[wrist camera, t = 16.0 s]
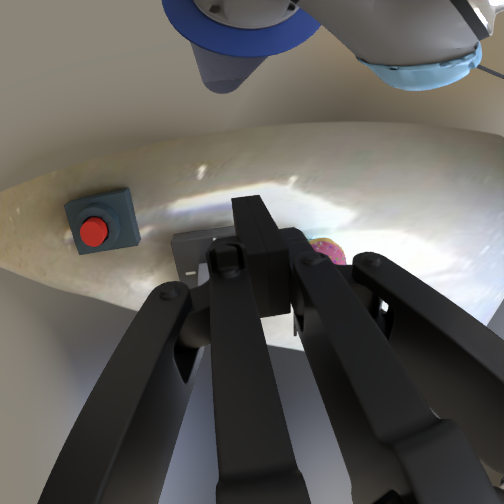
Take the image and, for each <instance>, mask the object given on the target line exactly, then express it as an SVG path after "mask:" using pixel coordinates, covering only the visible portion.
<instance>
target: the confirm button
mask: <svg viewBox="0 0 504 504" xmlns="http://www.w3.org/2000/svg"><path fill="white" fill-rule="evenodd" d="M107 233H108V229H107V225H106V223H105V222H104V221H103V220H102V219H100V218H98V217H91V218H89V219H88V220H87V221H86V222H85V223H84V224H83V225H82V227H81V229H80V235H81V238H82V240H83V241H84V243H86V244H87V245H89V246H92V247H95V246H98V245H100V244H101V243H102V242H103V240H104V239H105V238H106V236H107Z"/></svg>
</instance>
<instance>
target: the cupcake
mask: <svg viewBox="0 0 504 504" xmlns="http://www.w3.org/2000/svg"><path fill="white" fill-rule="evenodd" d="M308 241H309V243H310V244H311V245H312V247H313V248H314V250H315V251H316V252H321V253H324V254H326V255H327V256H328V257H329V258H330V259H331V260H332V262H333V263H334V264H340V265H346V260H345V259H346V258H345V255H344V252H343V250H342V248H341V247H340V246H339V245H337V244H336V243H335V242H333V241H332V240H331V239H328V238H317V239H313V240H312V239H311V240H308Z"/></svg>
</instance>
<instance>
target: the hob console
mask: <svg viewBox="0 0 504 504" xmlns="http://www.w3.org/2000/svg"><path fill="white" fill-rule="evenodd" d="M230 236H236V234H235V226H229V227H222V228H215V229H208V230H201V231H194V232H187V233H180V234H174V235H173V238H172V241H171V246H172V250H173V254H174V259H175V263H176V267H177V271H178V275H179V279H180V282H183V283H185V284H187V286H188V287H189V289H192V288H195V287H197V286H198V270H199V264H203V263H207V261H206V256H205V252H206V250H207V249H208V248H209V247H210V246H211V244H212V242H213V241H214V240H215V239H216V238H223V237H230Z"/></svg>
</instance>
